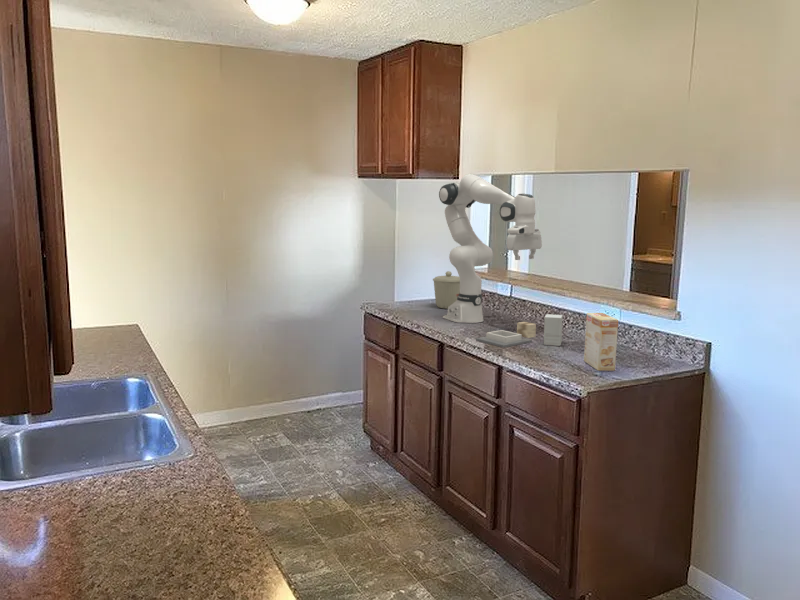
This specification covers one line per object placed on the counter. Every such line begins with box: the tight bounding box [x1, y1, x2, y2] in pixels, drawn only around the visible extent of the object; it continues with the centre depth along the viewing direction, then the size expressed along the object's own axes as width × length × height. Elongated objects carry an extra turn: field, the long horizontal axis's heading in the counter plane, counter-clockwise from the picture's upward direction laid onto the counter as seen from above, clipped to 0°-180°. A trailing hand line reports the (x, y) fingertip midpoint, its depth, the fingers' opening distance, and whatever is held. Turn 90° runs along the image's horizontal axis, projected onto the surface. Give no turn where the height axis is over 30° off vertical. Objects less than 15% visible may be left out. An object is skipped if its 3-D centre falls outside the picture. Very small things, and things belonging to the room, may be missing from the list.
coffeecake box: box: [583, 312, 619, 372], centre depth 252 cm, size 15×7×20 cm, turn 5°
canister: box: [432, 270, 460, 310], centre depth 378 cm, size 18×18×21 cm
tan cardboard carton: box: [516, 321, 537, 339], centre depth 306 cm, size 7×5×6 cm
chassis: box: [475, 329, 533, 348], centre depth 294 cm, size 17×18×4 cm
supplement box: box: [543, 313, 564, 347], centre depth 289 cm, size 7×7×13 cm
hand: (524, 259), depth 305 cm, fingers open, 8 cm apart
